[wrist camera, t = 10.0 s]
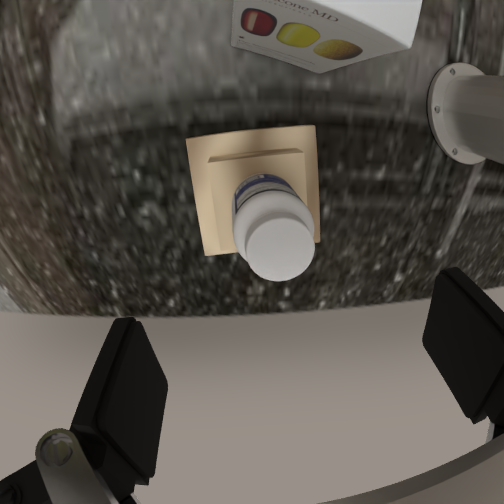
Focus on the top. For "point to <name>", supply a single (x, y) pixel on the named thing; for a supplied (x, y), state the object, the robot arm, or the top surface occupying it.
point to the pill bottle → (272, 227)
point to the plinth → (243, 144)
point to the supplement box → (324, 30)
